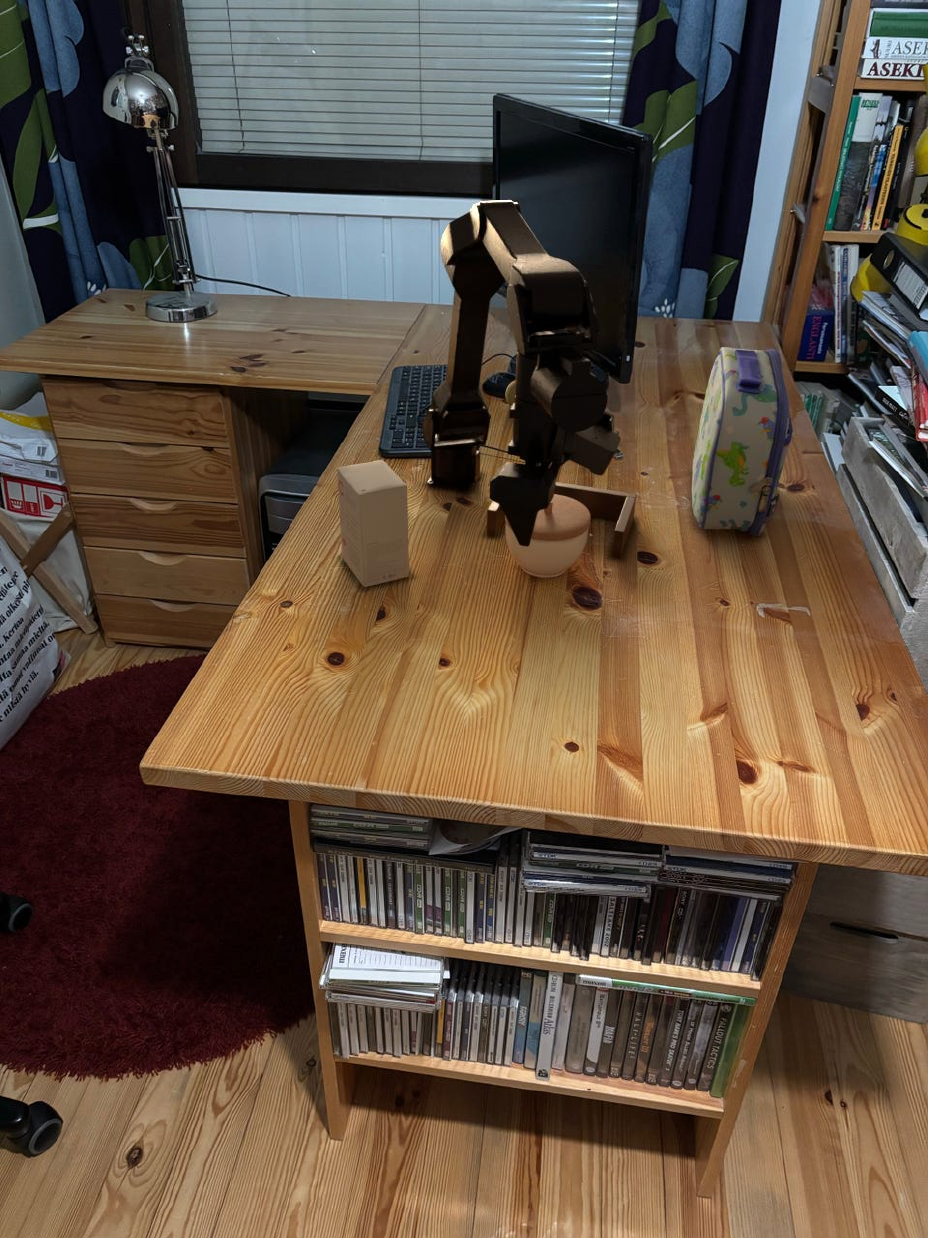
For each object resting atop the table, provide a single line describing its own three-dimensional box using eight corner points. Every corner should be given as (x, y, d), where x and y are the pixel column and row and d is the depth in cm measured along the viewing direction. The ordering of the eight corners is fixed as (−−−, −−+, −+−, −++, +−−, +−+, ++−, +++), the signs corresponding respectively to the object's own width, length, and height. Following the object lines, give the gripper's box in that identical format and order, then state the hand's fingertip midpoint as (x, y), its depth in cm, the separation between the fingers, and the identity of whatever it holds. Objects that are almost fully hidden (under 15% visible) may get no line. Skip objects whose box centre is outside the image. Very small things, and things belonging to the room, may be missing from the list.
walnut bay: (486, 535, 127) (487, 509, 125) (507, 499, 136) (508, 474, 134) (620, 558, 123) (623, 531, 121) (633, 519, 132) (636, 493, 130)
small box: (410, 577, 118) (408, 484, 111) (363, 588, 116) (358, 495, 109) (386, 547, 124) (383, 457, 117) (341, 557, 122) (334, 466, 114)
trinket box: (498, 545, 125) (500, 482, 120) (576, 543, 126) (583, 480, 121) (507, 589, 116) (511, 523, 111) (592, 586, 117) (600, 521, 112)
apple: (551, 417, 161) (553, 384, 158) (504, 416, 161) (506, 383, 158) (549, 404, 166) (552, 372, 162) (504, 402, 166) (506, 370, 163)
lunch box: (771, 551, 125) (807, 402, 113) (690, 543, 127) (716, 395, 115) (758, 467, 146) (786, 334, 134) (688, 461, 148) (710, 329, 136)
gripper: (603, 438, 88) (589, 578, 97) (631, 373, 103) (616, 500, 112) (490, 424, 91) (486, 562, 100) (533, 363, 106) (526, 487, 115)
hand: (533, 526), depth 106 cm, fingers open, 9 cm apart
